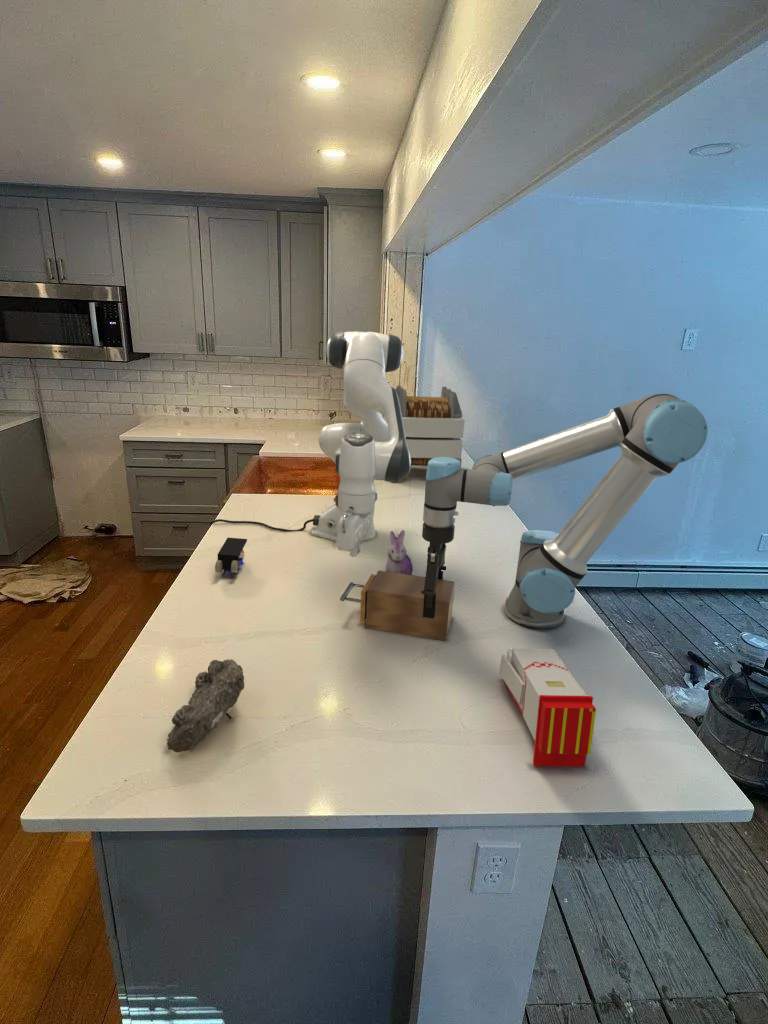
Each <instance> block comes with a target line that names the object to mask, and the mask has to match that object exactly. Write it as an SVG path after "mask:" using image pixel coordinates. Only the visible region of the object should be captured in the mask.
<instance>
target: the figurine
mask: <svg viewBox="0 0 768 1024" xmlns="http://www.w3.org/2000/svg"><path fill="white" fill-rule="evenodd" d="M405 535H406V531H405V530H404V529H402V530H401V531H400V532H399V534H398V535H397V536H396V533H394V531H393V530H390V532H389V546H388V548H387V550H386V551H387V553H386V554H387V556H388V559H387V560H386V563H385V571H386V572H393V573H400V574H407V575H413V573H414V572H413V570H414V567H413V566H414V565H413V562H412V559H411V558H410V556H409V555H408V554H407V549H406V545H405V544H404V540H405Z"/></svg>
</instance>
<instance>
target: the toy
mask: <svg viewBox="0 0 768 1024" xmlns="http://www.w3.org/2000/svg"><path fill="white" fill-rule="evenodd" d="M499 675H500V676H501V678H502V681H503V682H504V684H505V687H506V688H507V689H508V692H509V694H510V696H511V697H512V699H513V701H514V703H515V704H516V706H517V708H518V710H519V711H520V713H521V715H522V717H523V719H524V721H525V723H526V725H527V728H528V730H529V732H530V734H531V736H532V738H533V740H534V749H533V757H532V758H533V759H532V766H533V767H558V768H559V767H561V768H562V767H566V768H567V767H569V768H572V767H573V768H579V767H581V768H585V767H586V760H587V755H591V754H592V753H591V752H592V744H593V735H594V730H595V729H594V728H595V720H596V712H597V708H596V707H595V705H594V703H593V702H594V697H593V695H587V694H586V693H585V691H584V690H583V689H582V687H581V685H580V684H579V683H578V682H577V680H576V679H575V678H574V676H573V675H572V673H571V671H569V669H568V668H567V666H566V665H565V663H564V662H563V661H562V659H561V658H560V656H559V654H557V652H556V651H555V650H554V649H553V648H511V649H509V648H508V649H506V655H505V654H501V659H500V666H499Z"/></svg>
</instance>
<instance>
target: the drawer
mask: <svg viewBox="0 0 768 1024" xmlns="http://www.w3.org/2000/svg"><path fill="white" fill-rule="evenodd" d="M375 576H376V574H374V573H371V574H370V576H369V577H368V579H367V581H366V583H365V584H360V583H354V581H350V582H349V583H348V585H347V587H346V588H345V589H344V591H343V593H342V594H341V596H340V597H339V600H340V602H345V601H348V602H355V603H359V604H360V606H359V607H360V611H359V622H360V623H363V624H366V614H367V590H368V588H369V586H370V584H371V583H372V581H373V579H374V577H375ZM353 588H362V589H361V591H360V598H354V597H348V596H349V594H350V593H351V591H352V589H353Z"/></svg>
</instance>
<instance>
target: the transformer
mask: <svg viewBox="0 0 768 1024" xmlns="http://www.w3.org/2000/svg"><path fill="white" fill-rule="evenodd" d="M395 390H396V392H397V395H398V398H399V403H400V408H401V413H402V419H403V425H404V431H405V437H406V442H407V446H408V450H409V452H410V456H411V467H412V466H413V467H415V466H416V467H417V466H418V467H427V465H428V462H429V461H430V460H431V459H432V458H435V457H450V458H455V459H457V460H459V461H460V466H461V467H462V461H463V460H462V453H463V442H464V441H463V440H462V439H463V438H464V431H465V430H464V429H465V419H464V418H463V411H462V408H461V405H460V402H459V398H458V395H457V392H455V391H453V390H452V389H451V388H447V386H442V387H441V392H440V393H441V394H440V396H415V395H414V396H413V395H412V396H411V395H407V394H408V393H407V390H406V389H404V388H403V387H402V385H399V384H398V385H397V386H396V388H395ZM385 421H386V422H387V420H386V419H385ZM402 482H403V480H401V481H400V482H399V483H402Z"/></svg>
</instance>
